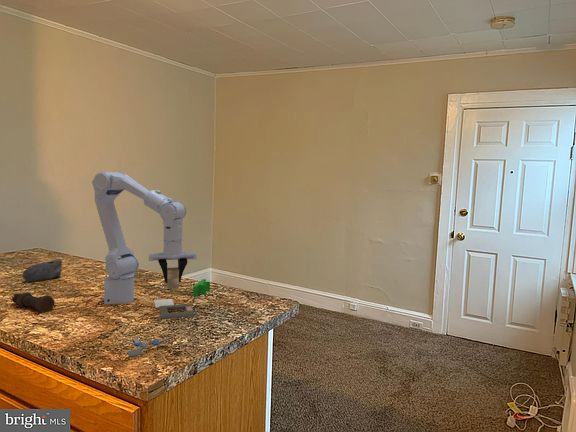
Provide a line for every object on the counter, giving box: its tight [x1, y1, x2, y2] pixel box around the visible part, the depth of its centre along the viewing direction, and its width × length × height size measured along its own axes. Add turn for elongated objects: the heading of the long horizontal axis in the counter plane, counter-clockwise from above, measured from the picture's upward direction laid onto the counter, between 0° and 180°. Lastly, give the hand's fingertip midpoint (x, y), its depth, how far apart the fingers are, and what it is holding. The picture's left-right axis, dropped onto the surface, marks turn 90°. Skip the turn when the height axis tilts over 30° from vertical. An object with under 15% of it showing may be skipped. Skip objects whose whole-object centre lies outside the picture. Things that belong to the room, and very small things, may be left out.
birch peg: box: [165, 266, 180, 290], centre depth 135 cm, size 4×4×6 cm
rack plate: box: [158, 303, 196, 320], centre depth 133 cm, size 10×10×2 cm
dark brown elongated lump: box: [11, 292, 55, 314], centre depth 133 cm, size 6×5×15 cm
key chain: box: [126, 336, 172, 357], centre depth 109 cm, size 14×8×1 cm, turn 159°
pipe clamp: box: [192, 278, 211, 297], centre depth 155 cm, size 11×4×5 cm, turn 173°
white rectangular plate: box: [153, 298, 175, 309], centre depth 141 cm, size 6×8×1 cm
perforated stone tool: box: [22, 259, 63, 282], centre depth 165 cm, size 15×5×7 cm, turn 142°
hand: (172, 282), depth 135 cm, fingers closed on birch peg, 3 cm apart
